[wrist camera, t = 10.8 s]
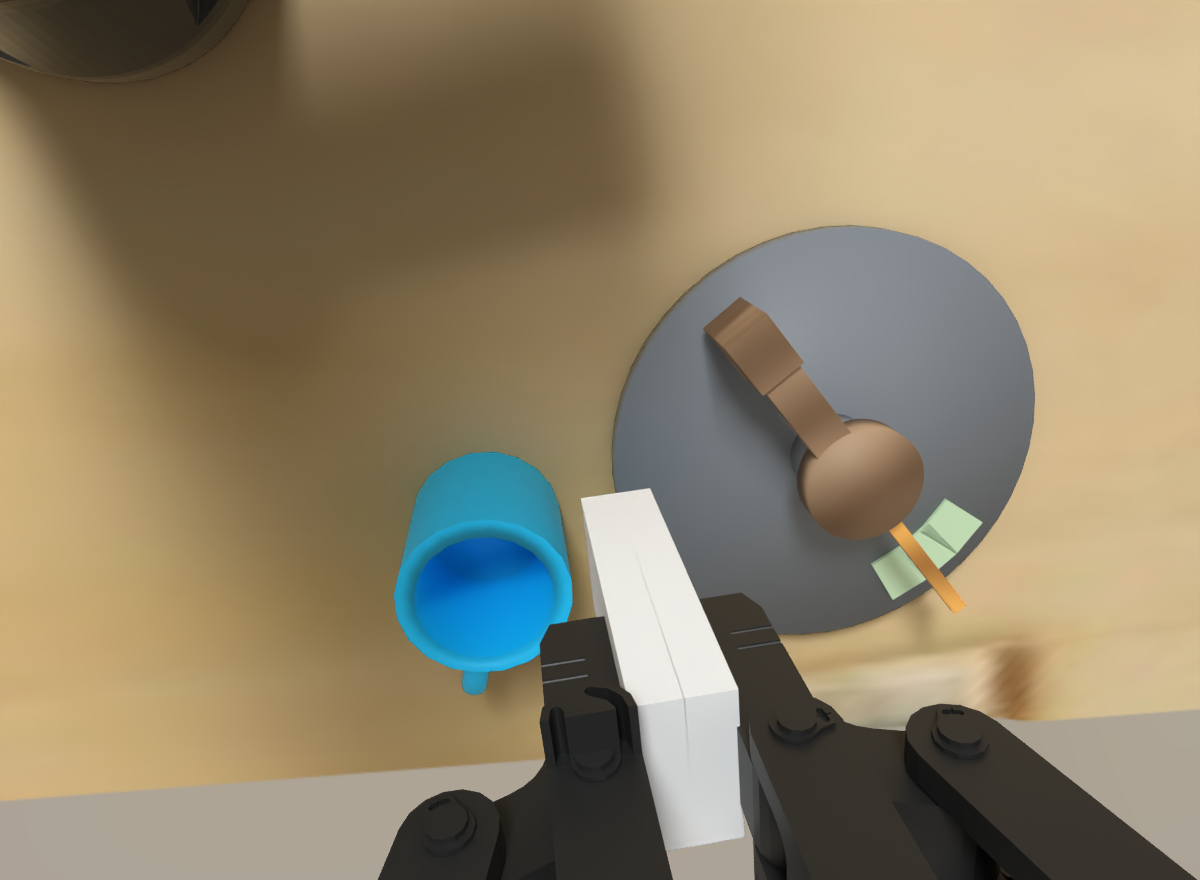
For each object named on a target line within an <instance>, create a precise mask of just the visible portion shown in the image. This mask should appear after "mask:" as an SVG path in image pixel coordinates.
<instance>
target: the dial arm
mask: <svg viewBox="0 0 1200 880" xmlns="http://www.w3.org/2000/svg"><path fill="white" fill-rule="evenodd" d="M703 330H704V331H705V332H706V333H707V335H708V336H709V337H710V338H711V339H712V341H713V342H714V343H715V344H716V346H717V347H718V348H719V349H720V351H721V352H722V353H723V354H724V356H725V357H726V358H727V359H728V361H729V362H730V363H731V364H732V366H733V367H734V368H735V369H736V371H737V372H738V373H739V374H740V375H742V376H743V377H744V378H745V379H746V380H747V381H748V382H749V383H750V384H751V385H752V386H753V387H754V388H755V389H756V390H757V391H758V392H759V393H760V394H761V395H762V396H764V395H766V397H767V398H768V399H769V400H770V402H771V403H772V404H773V405H774V407H775V408H776V409H777V410H778V412H779V413H780V414H781V415H782V417H783V418H784V419H785V420H786V422H787V423H788V424H789V425H790V427H791V428H792V429H793V430H794V432H795V433H796V434H797V435H798V437H799V438H800V439H801V440H802V442H803V443H804V444H805V445H806V447H807V448H808V449H807V450H806V452H805V454H804V455H803V457H802V460H801V462H800V465H799V469H798V473H797V489H798V494H799V497H800V500H801V502H802V504H803V505H804V507H805V508H806V510H807V511H808V512H809V513H810V514H811V515H812V517H813V518H814V519H815V520H816V521H817V523H818V524H819V525H820V526H821V527H822V528H823V529H824V530H826V531H827V532H829V533H830V534H832V535H834V536H837V537H840V538H844V539H850V540H862V539H868V538H872V537H876V536H879V535H881V534H884V533H885V532H887V531H889V533H890V534H891V535H892V536H893V538H894V539H895V540H896V542H897V543H898V544H899V545H900V547H901V548H902V549H903V550H904V552H905V553H906V554H907V555H908V557H909V558H910V559H911V561H912V562H913V563H914V564H915V566H916V567H917V568H918V569H919V571H920V572H921V573H922V574H923V576H924V577H925V578H926V580H927V581H928V582H929V583H930V585H931V586H932V587H933V588H934V590H935V591H936V592H937V593H938V595H939V596H940V597H941V599H942V600H943V601H944V602H945V604H946V605H947V606H948V607H949V609H950V610H951V611H952V612H953V613H954V614H956V613H957V612H958V611H960V610H961V609H962V608H964V607H965V606H967V605H966V604H965V603H964V601H963V600H962V599H961V598H960V596H959V595H958V594H957V592H956V591H955V590H954V588H953V587H952V586H951V585H950V583H949V582H948V581H947V579H946V578H945V577H944V576H943V574H942V573H941V572H940V570H939V569H938V568H937V567H936V565H935V564H934V563H933V561H932V560H931V559H930V557H929V556H928V555H927V554H926V552H925V551H924V550H923V548H922V547H921V546H920V545H919V543H918V542H917V541H916V539H915V538H914V537H913V536H912V534H911V533H910V532H909V530H908V529H907V528H906V527H905V525H904V524H903V523H902V521H903V520H904V519H905V518H906V517H907V516H908V515H909V513H910V512H911V511H912V509H913V508H914V506H915V505H916V503H917V501H918V499H919V497H920V494H921V491H922V488H923V483H924V466H923V462H922V459H921V456H920V454H919V452H918V451H917V449H916V448H915V446H914V445H913V444H912V443H911V442H910V441H909V440H907V439H906V438H905V437H903V436H902V435H901V434H899V433H898V432H897V431H895V430H894V429H892V428H891V427H889V426H888V425H886V424H884V423H882V422H879V421H876V420H871V419H854V420H848V421H845V422H842V420H841V419H840V418H839V416H838V415H837V414H836V412H835V411H834V410H833V408H832V407H831V406H830V404H829V403H828V402H827V401H826V399H825V398H824V397H823V395H822V394H821V393H820V391H819V390H818V389H817V387H816V386H815V385H814V383H813V382H812V381H811V380H810V378H809V377H808V376H807V374H806V373H805V372H804V370H803V369H802V368H801V365H802V364H803V363H804V362H803V360H802V359H801V358H800V356H799V355H798V354H797V352H796V351H795V350H794V348H793V347H792V346H791V345H790V343H789V342H788V341H787V339H786V338H785V337H784V335H783V334H782V333H781V331H780V330H779V329H778V327H777V326H776V325H775V323H774V322H773V321H772V319H771V318H770V317H769V316H768V314H766V313H765V312H763V311H762V310H760V309H759V308H757V307H755V306H754V305H752V304H751V303H749V302H748V301H746V300H744V299H743V298H741V297H739V298H738V299H737V300H736V301H734V302H733V303H732V304H731V305H730V306H729V307H727V308H726V309H725V310H724V311H723V312H721V313H720V314H719V315H718V316H717V317H715V318H714V319H713V320H712V321H711V322H710V323H708V324H707V325H706V326H705V327H704V328H703Z"/></svg>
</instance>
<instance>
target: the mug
mask: <svg viewBox="0 0 1200 880" xmlns="http://www.w3.org/2000/svg"><path fill="white" fill-rule="evenodd" d="M394 599H395V607H396V614H397V619H398V621H399V623H400V625H401V627H402V629H403V630H404V632H405V634H406V636H407V638H408V640H409V641H410V642H411V643H412V644H414V645H415V646H416V647H417V648H418V649H419V650H420V651H421V652H422V653H423V654H424V655H426V656H427V657H428V658H430V659H432V660H435V661H437V662H439V663H441V664H443V665H445V666H447V667H449V668H452V669H458V670H463V678H462V687H463V690H464V691H465V692H466V693H468V694H470V695H478V694H481V693H482V692H484V691H485V689H486V686H487V682H488V675H489V672H491V671H502V670H507V669H509V668H512V667H515V666H517V665H520V664H523V663H526V662H528V661H530V660H532V659H533V658H534V657H536V656H537V655H539V654H540V642H541V640H542V638H543V636H544V634H545V632H546V631H547V629H548V627H549V625H551V624H557V623H563V622H567V619H568V616H569V613H570V610H571V607H572V604H573V602H572V579H571V573H570V567H569V561H568V555H567V549H566V543H565V537H564V531H563V525H562V519H561V513H560V507H559V503H558V501H557V498H556V496H555V493H554V491H553V488H552V486H551V484H550V483H549V482H548V481H547V480H546V479H545V478H544V476H543V475H542V474H541V473H540V472H539V471H538V470H537V469H536V468H534V467H533V466H531V465H529V464H528V463H526V462H524V461H522V460H521V459H519V458H517V457H513V456H509V455H505V454H501V453H496V452H485V453H470V454H467V455H464V456H462V457H459V458H456V459H454V460H451V461H448V462H447V463H445V464H444V465H443V466H442V467H440V468H439V469H438V470H436V471H435V472H434V473H432V474H431V475H430V476H429V477H428V479H427V480H426V482H425V483H424V485H423V486H422V488H421V489H420V491H419V492H418V494H417V498H416V502H415V506H414V510H413V514H412V519H411V523H410V527H409V532H408V536H407V540H406V545H405V549H404V553H403V557H402V562H401V566H400V570H399V575H398V579H397V583H396V588H395V592H394Z"/></svg>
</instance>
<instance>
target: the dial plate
mask: <svg viewBox="0 0 1200 880" xmlns="http://www.w3.org/2000/svg"><path fill="white" fill-rule="evenodd" d="M739 297H741V298H743V299H744V300H746V301H748V302H749V303H751V304H752V305H754V306H755V307H757V308H759V309H760V310H762V311H763V312H765V313H766V314H768V316H769V317H770V318H771V319H772V321H773V322H774V323H775V325H776V326H777V327H778V329H779V330H780V331H781V333H782V334H783V335H784V337H785V338H786V339H787V341H788V342H789V343H790V345H791V346H792V347H793V348H794V350H795V351H796V352H797V354H798V355H799V356H800V358H801V359H802V360H803V362H804V363H803V364H802V365H801V368H802V369H803V370H804V372H805V373H806V374H807V376H808V377H809V378H810V380H811V381H812V382H813V383H814V385H815V386H816V387H817V389H818V390H819V391H820V393H821V394H822V395H823V397H824V398H825V399H826V401H827V402H828V403H829V404H830V406H831V407H832V408H833V410H834V411H835V412H836V414H837V415H838V416H839V418H840V419H841V420H842V422H845V421H848V420H854V419H871V420H876V421H879V422H882V423H884V424H886V425H888V426H889V427H891V428H892V429H894V430H895V431H897V432H898V433H899V434H901V435H902V436H903V437H905V438H906V439H907V440H909V441H910V442H911V443H912V444H913V445H914V446H915V448H916V449H917V451H918V452H919V454H920V456H921V459H922V462H923V466H924V483H923V488H922V491H921V494H920V497H919V499H918V501H917V503H916V505H915V506H914V508H913V509H912V511H911V512H910V513H909V515H908V516H907V517H906V518H905V519H904V520H903V521H902V523H903V524H904V525H905V527H906V528H907V529H908V530H909V532H910V533H911V534H912V536H913V537H914V538H915V539H916V541H917V542H918V543H919V545H920V546H921V547H922V548H923V550H924V551H925V552H926V554H927V555H928V556H929V557H930V559H931V560H932V561H933V563H934V564H935V565H936V567H937V568H938V569H939V570H940V572H941V573H942V574H943V576H944V577H946V576H947V575H948V574H950V573H951V572H952V571H953V570H954V569H955V568H956V567H957V566H959V565H960V564H961V563H962V562H963V561H964V560H965V559H966V558H967V557H968V556H969V554H970V553H971V552H972V551H973V550H974V549H975V548H976V547H977V546H978V545H979V543H980V542H981V541H982V540H983V539H984V537H985V536H986V534H987V533H988V532H989V530H990V529H991V528H992V526H993V525H994V524H995V522H996V521H997V519H998V518H999V516H1000V514H1001V512H1002V511H1003V509H1004V507H1005V506H1006V504H1007V502H1008V500H1009V499H1010V497H1011V495H1012V493H1013V490H1014V488H1015V486H1016V483H1017V481H1018V479H1019V477H1020V474H1021V472H1022V469H1023V465H1024V462H1025V459H1026V456H1027V452H1028V449H1029V445H1030V439H1031V434H1032V428H1033V423H1034V404H1035V391H1034V380H1033V370H1032V365H1031V361H1030V357H1029V352H1028V348H1027V344H1026V342H1025V339H1024V337H1023V334H1022V332H1021V329H1020V327H1019V324H1018V322H1017V320H1016V318H1015V317H1014V315H1013V313H1012V312H1011V310H1010V308H1009V307H1008V305H1007V303H1006V302H1005V300H1004V299H1003V297H1002V296H1001V295H1000V294H999V293H998V291H997V290H996V289H995V288H994V287H993V285H992V284H991V283H990V282H989V281H988V279H987V278H985V277H984V276H983V275H982V274H981V273H980V272H978V271H977V270H976V269H975V268H974V267H973V266H971V265H970V264H969V263H968V262H967V261H965V260H963V259H962V258H960V257H958V256H957V255H955V254H954V253H952V252H950V251H949V250H947V249H945V248H944V247H941V246H939V245H936V244H934V243H932V242H929V241H927V240H924V239H922V238H919V237H916V236H912V235H908V234H904V233H899V232H895V231H891V230H887V229H882V228H875V227H864V226H853V225H849V226H829V227H819V228H813V229H808V230H803V231H798V232H792V233H789V234H786V235H783V236H780V237H777V238H774V239H771V240H768V241H765V242H762V243H760V244H758V245H756V246H754V247H752V248H750V249H748V250H746V251H744V252H742V253H740V254H738V255H735V256H734V257H732V258H731V259H729V260H728V261H726V262H725V263H723V264H721V265H720V266H718V267H717V268H715V269H714V270H712V271H711V272H709V273H708V274H707V275H705V276H704V277H703V278H702V279H701V280H699V281H698V282H697V283H696V284H695V285H694V286H692V287H691V288H690V289H689V290H688V291H686V292H685V293H684V294H683V295H682V296H681V297H680V299H679V300H678V301H677V302H676V303H675V304H674V305H673V306H672V307H671V308H670V309H669V310H668V311H667V312H666V314H665V315H664V316H663V317H662V319H661V320H660V321H659V323H658V324H657V325H656V327H655V328H654V330H653V331H652V332H651V334H650V335H649V337H648V338H647V339H646V341H645V343H644V345H643V346H642V348H641V350H640V352H639V354H638V356H637V357H636V359H635V361H634V363H633V365H632V367H631V369H630V372H629V374H628V377H627V379H626V382H625V385H624V387H623V390H622V392H621V396H620V400H619V404H618V408H617V412H616V416H615V420H614V429H613V439H612V474H613V479H614V485H615V491H616V493H621V492H627V491H634V490H641V489H648V488H650V489H651V492H652V494H653V496H654V499H655V501H656V503H657V505H658V508H659V510H660V512H661V515H662V517H663V519H664V521H665V524H666V526H667V528H668V530H669V533H670V535H671V537H672V540H673V542H674V544H675V546H676V549H677V551H678V553H679V555H680V558H681V560H682V562H683V565H684V567H685V569H686V571H687V574H688V576H689V578H690V580H691V583H692V585H693V587H694V590H695V592H696V594H697V596H698V599H703V598H709V597H716V596H722V595H728V594H735V593H743V594H744V595H746V596H747V597H748V598H750V599H751V600H753V601H754V602H756V603H757V604H758V605H760V606H761V607H762V609H763V610H764V612H765V614H766V616H767V617H768V619H769V621H770V623H771V624H772V628H774V630H775V631H776V633H777V634H810V633H819V632H828V631H833V630H837V629H842V628H846V627H851V626H854V625H857V624H860V623H863V622H866V621H869V620H872V619H875V618H878V617H880V616H882V615H884V614H886V613H889V612H891V611H893V610H895V609H897V608H900V607H901V606H903V605H905V604H907V603H908V602H910V601H912V600H913V599H915V598H917V597H919V596H920V595H922V594H923V593H925V592H926V591H928V590H929V589H930V588H932V586H931V585H930V583H929V582H928V581H927V580H926V578H925V577H924V576H923V574H922V573H921V572H920V571H919V569H918V568H917V567H916V566H915V564H914V563H913V562H912V561H911V559H910V558H909V557H908V555H907V554H906V553H905V552H904V550H903V549H902V548H901V547H900V545H899V544H898V543H897V542H896V540H895V539H894V538H893V536H892V535H891V534H890V533H889V531H887V532H885V533H884V534H881V535H879V536H876V537H872V538H868V539H862V540H850V539H844V538H840V537H837V536H834V535H832V534H830V533H829V532H827V531H826V530H824V529H823V528H822V527H821V526H820V525H819V524H818V523H817V521H816V520H815V519H814V518H813V517H812V515H811V514H810V513H809V512H808V511H807V510H806V508H805V507H804V505H803V504H802V502H801V500H800V497H799V494H798V489H797V473H798V469H799V465H800V462H801V460H802V457H803V455H804V454H805V452H806V450H807V449H808V448H807V447H806V445H805V444H804V443H803V442H802V440H801V439H800V438H799V437H798V435H797V434H796V433H795V432H794V430H793V429H792V428H791V427H790V425H789V424H788V423H787V422H786V420H785V419H784V418H783V417H782V415H781V414H780V413H779V412H778V410H777V409H776V408H775V407H774V405H773V404H772V403H771V402H770V400H769V399H768V398H767V397H766V395H764V396H762V395H761V394H760V393H759V392H758V391H757V390H756V389H755V388H754V387H753V386H752V385H751V384H750V383H749V382H748V381H747V380H746V379H745V378H744V377H743V376H742V375H740V374H739V373H738V372H737V371H736V369H735V368H734V367H733V366H732V364H731V363H730V362H729V361H728V359H727V358H726V357H725V356H724V354H723V353H722V352H721V351H720V349H719V348H718V347H717V346H716V344H715V343H714V342H713V341H712V339H711V338H710V337H709V336H708V335H707V333H706V332H705V331H704V330H703V328H704V327H705V326H706V325H707V324H708V323H710V322H711V321H712V320H713V319H714V318H715V317H717V316H718V315H719V314H720V313H721V312H723V311H724V310H725V309H726V308H727V307H729V306H730V305H731V304H732V303H733V302H734V301H736V300H737V299H738V298H739Z"/></svg>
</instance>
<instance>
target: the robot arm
mask: <svg viewBox="0 0 1200 880" xmlns="http://www.w3.org/2000/svg"><path fill="white" fill-rule="evenodd" d="M248 1H249V0H0V59H1V60H4V61H6V62H9V63H11V64H14V65H16V66H19V67H22V68H25V69H28V70H31V71H35V72H39V73H42V74H46V75H51V76H57V77H62V78H69V79H75V80H82V81H90V82H98V83H126V82H134V81H142V80H146V79H151V78H155V77H158V76H162V75H165V74H168V73H170V72H173V71H175V70H178V69H180V68H182V67H184V66H186V65H188V64H190V63H191V62H193V61H195V60H196V59H198V58H199V57H201V56H202V55H204V54H205V53H206V52H208V51H209V50H210V49H211V48H212V47H214V46H215V45H216V44H217V43H218V42H219V41H220V40H221V39H222V38H223V37H224V36H225V35H226V34H227V33H228V32H229V30H230V29H231V28H232V26H233V25H234V24H235V23H236V21H237V20H238V18H239V17H240V15H241V14H242V12H243V10H244V9H245V7H246V5H247V3H248ZM581 504H582V513H583V521H584V529H585V537H586V545H587V553H588V562H589V570H590V578H591V586H592V594H593V603H594V609H595V614H596V617H595V618H589V619H582V620H576V621H570V622H563V623H557V624H551V625H549V627H548V629H547V631H546V632H545V634H544V636H543V638H542V640H541V642H540V657H541V667H542V668H541V669H542V681H543V693H544V705H545V706H544V707H543V708H542V712H541V717H540V728H541V734H542V740H543V746H544V752H545V758H546V759H545V762H544V764H543V766H542V768H541V769H540V771H539V772H538V773H537V775H536V776H535V777H534V778H533V779H532V780H531V781H529V782H528V783H527V784H526V785H525V786H524V787H522V788H520V789H518V790H517V791H515V792H513V793H511V794H509V795H507V796H505V797H503V798H501V799H499V800H496V801H494V802H493V801H491V800H490V799H488V798H487V797H485V796H484V795H483V794H481V793H479V792H474V791H468V790H463V789H462V790H455V791H448V792H443V793H440V794H438V795H436V796H434V797H432V798H430V799H427V800H425V801H424V802H423V803H421V804H420V805H419V806H418V807H416V808H415V809H414V810H413V811H412V812H410V813H409V815H408V816H407V818H406V819H405V821H404V822H403V824H402V826H401V827H400V829H399V830H398V833H397V835H396V838H395V840H394V842H393V845H392V847H391V850H390V852H389V854H388V857H387V859H386V862H385V864H384V866H383V869H382V872H381V873H380V876H379V878H378V880H673V878H672V874H671V870H670V866H669V861H668V857H667V853H666V851H671V850H677V849H682V848H688V847H693V846H699V845H704V844H709V843H715V842H720V841H726V840H731V839H737V838H742V837H745V836H744V835H745V834H744V815H745V818H746V820H747V823H748V826H749V829H750V831H751V834H752V837H753V845H754V874H755V880H1197V879H1195V878H1194V877H1193V876H1192V875H1191V874H1189V873H1188V872H1187V871H1185V870H1184V869H1183V868H1182V867H1180V866H1179V865H1178V864H1177V863H1175V862H1174V861H1173V860H1171V859H1170V858H1169V857H1168V856H1166V855H1165V854H1164V853H1163V852H1161V851H1160V850H1159V849H1158V848H1156V847H1155V846H1154V845H1153V844H1151V843H1150V842H1149V841H1147V840H1146V839H1145V838H1144V837H1142V836H1141V835H1140V834H1139V833H1137V832H1136V831H1135V830H1134V829H1132V828H1131V827H1130V826H1128V825H1127V824H1126V823H1125V822H1123V821H1122V820H1121V819H1119V818H1118V817H1117V816H1116V815H1114V814H1113V813H1112V812H1111V811H1110V810H1108V809H1107V808H1106V807H1104V806H1103V805H1102V804H1101V803H1099V802H1098V801H1097V800H1096V799H1094V798H1093V797H1092V796H1091V795H1089V794H1088V793H1087V792H1085V791H1084V790H1083V789H1082V788H1080V787H1079V786H1078V785H1077V784H1075V783H1074V782H1073V781H1072V780H1070V779H1069V778H1068V777H1066V776H1065V775H1064V774H1063V773H1061V772H1060V771H1059V770H1058V769H1056V768H1055V767H1054V766H1052V765H1051V764H1050V763H1049V762H1048V761H1046V760H1045V759H1044V758H1043V757H1041V756H1040V755H1039V754H1037V753H1036V752H1035V751H1034V750H1032V749H1031V748H1030V747H1028V746H1027V745H1026V744H1025V743H1023V742H1022V741H1021V740H1020V739H1018V738H1017V737H1016V736H1015V735H1013V734H1012V733H1011V732H1010V731H1008V730H1007V729H1006V728H1005V727H1003V726H1002V725H1001V724H1000V723H998V722H997V721H995V720H993V719H992V718H990V717H988V716H987V715H985V714H983V713H982V712H980V711H977V710H974V709H970V708H967V707H964V706H961V705H950V704H937V705H932V706H927V707H923V708H921V709H920V710H918V711H917V712H915V713H914V714H912V715H911V717H910V719H909V721H908V723H907V725H906V731H897V730H885V729H872V728H866V727H860V726H855V725H852V724H849V723H846V722H844V721H843V719H842V718H841V717H840V715H839V714H838V713H837V712H836V711H835V710H834V709H833V708H832V707H831V706H829V705H827V704H826V703H824V702H822V701H820V700H818V699H816V698H813V697H812V695H811V693H810V691H809V690H808V688H807V686H806V684H805V683H804V681H803V679H802V677H801V675H800V674H799V672H798V670H797V668H796V667H795V665H794V663H793V661H792V660H791V658H790V656H789V654H788V653H787V651H786V649H785V647H784V646H783V644H782V643H781V642H780V638H779V637H778V635H777V633H776V631H775V630H774V628H772V624H771V623H770V621H769V619H768V617H767V616H766V614H765V612H764V610H763V609H762V607H761V606H760V605H758V604H757V603H756V602H754V601H753V600H751V599H750V598H748V597H747V596H746V595H744V594H743V593H735V594H728V595H722V596H716V597H709V598H703V599H698V596H697V594H696V592H695V590H694V587H693V585H692V583H691V580H690V578H689V576H688V574H687V571H686V569H685V567H684V565H683V562H682V560H681V558H680V555H679V553H678V551H677V549H676V546H675V544H674V542H673V540H672V537H671V535H670V533H669V530H668V528H667V526H666V524H665V521H664V519H663V517H662V515H661V512H660V510H659V508H658V505H657V503H656V501H655V499H654V496H653V494H652V492H651V489H650V488H648V489H641V490H634V491H627V492H621V493H614V494H607V495H600V496H593V497H586V498H581Z"/></svg>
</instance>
